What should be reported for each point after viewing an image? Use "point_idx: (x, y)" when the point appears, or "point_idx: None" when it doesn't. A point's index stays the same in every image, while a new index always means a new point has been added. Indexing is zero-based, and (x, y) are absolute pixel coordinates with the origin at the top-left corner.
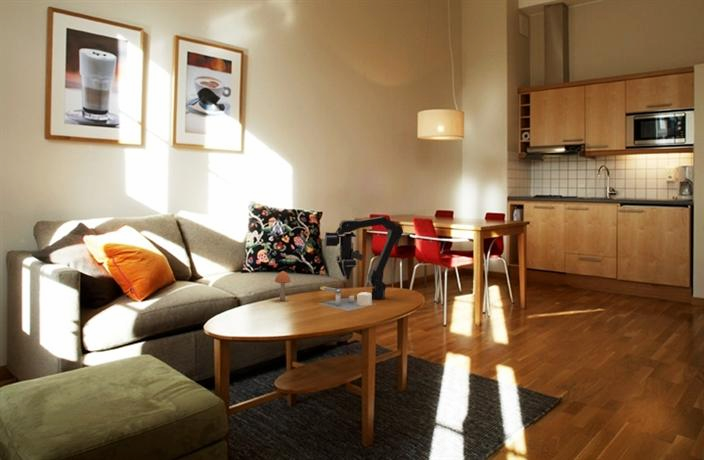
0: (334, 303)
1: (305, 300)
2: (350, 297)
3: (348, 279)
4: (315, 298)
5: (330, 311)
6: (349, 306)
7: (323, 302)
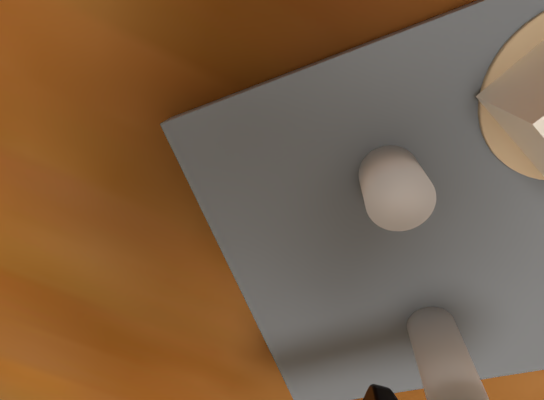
0: (354, 321)
1: (98, 384)
2: (417, 220)
3: (382, 391)
4: (46, 312)
5: (497, 393)
6: (542, 270)
7: (279, 368)
